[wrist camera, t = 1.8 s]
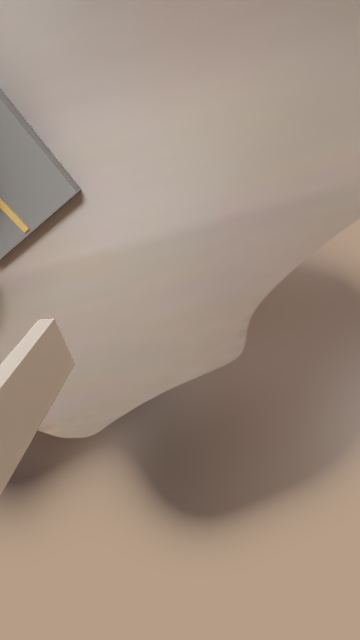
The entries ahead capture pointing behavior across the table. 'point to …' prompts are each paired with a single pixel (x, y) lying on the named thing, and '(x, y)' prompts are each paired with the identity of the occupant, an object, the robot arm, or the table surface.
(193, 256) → the table surface
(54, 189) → the plate
